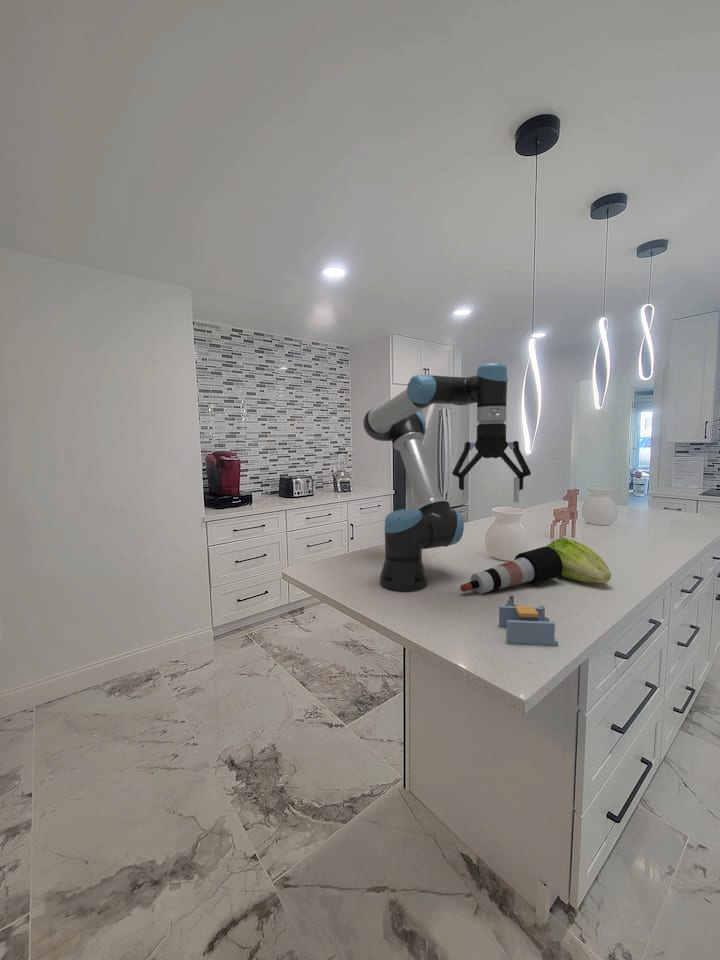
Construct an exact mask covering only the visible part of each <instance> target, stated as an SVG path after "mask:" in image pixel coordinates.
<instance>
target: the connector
mask: <svg viewBox="0 0 720 960" xmlns="http://www.w3.org/2000/svg"><path fill="white" fill-rule="evenodd" d="M534 607H535V606H533V605H532V606H529V605H527V606H526V605H524V606H523V605H518V606H515V620H521V621H538V617H539V614H538V612H537V611H536V610H535V608H534Z"/></svg>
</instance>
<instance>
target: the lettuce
mask: <svg viewBox="0 0 720 960" xmlns="http://www.w3.org/2000/svg"><path fill="white" fill-rule="evenodd" d="M545 547H550V548H552V549H554V550H555V551H556V552H557V553H558V555H559V556H560V558H561V560H562V565H563V569H562V573H561V575H560V576H562V577H563V578H566V579H570V580H574V581H578V582H582V583H608V582H609V581H610V580H611V579H612V573H611V570H610V569H609V567H608V565H607V564H606V562H605V561H604V560H603V558H602V557H600V556H599V555H598V554H597V553H596V552H595V551H593V550H592V549H591V548H589V546H587V545H585V544H582V543H580V542H578V541H577V540H576V541H575V540H572V539H570V538H566V537H565V538H558V539H554V540H553V541H551V542H550V543H548V544H547V545H546V546H545Z"/></svg>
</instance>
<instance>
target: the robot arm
mask: <svg viewBox="0 0 720 960" xmlns="http://www.w3.org/2000/svg"><path fill="white" fill-rule="evenodd" d="M507 368H508V367H507V366H506V365H505V364H504V363H501V362H492V363H491V362H489V363H483V364H480V365H479V366H478V367H477V371H476V375H473V376H468V377H466V376H465V377H464V376H463V377H461V376H449V375H448V376H445V375H444V376H443V375H432V374H431V375H430V374H416V375H413V376H412V377H411V378H410V379H409V381H408V384H407V387H406V389H405V390H402V392H400V393H399V394H397V395H396V396H393V398H391V399H389V400H388V401H387V402H385V403H384V404H382V405H377V406H374V407H372V408H371V409H369V411H367V412H366V413H365V415H364V417H363V421H362V423H363V428H364V431H365V432H366V434H367V435H368V436H369V437H370V438H372V439H373V440H376V441H380V442H389V441H390V442H391V443H392V444H393V448H394V450H397V451H399V453H400V457H401V460H402V462H403V465H404V468H405V471H406V474H407V478H408V480H409V483H410V486H411V489H412V492H413V494H414V498H415V501H416V505H417V508H407V509H406V508H405V509H404V508H403V509H398V510H394V511H391V512H390V513H388V514H387V515H386V517H385V519H384V521H385V522H384V528H383V529H384V555H385V556H384V559H385V560H384V562H383V566H382V569H381V572H380V574H379V584H380V585H381V587H383V588H385V589H387V590H390V591H395V592H414V591H415V592H416V591H420V590H422V589H425V588H426V587H427V586H428V574H427V571H426V568H425V567H424V563H423V555H422V554H423V550H427V549H434V548H441V547H449V546H452V545H456V544H458V543H459V542H460V541H461V540H462V537H463V535H464V531H465V523H464V518H463V516H462V514H461V513H460V511H459V510H456V509H452V508H451V506H450V502H449V501H448V500H446V499H444V498H443V497H442V494H441V491H440V489H439V485H438V483H437V479H436V478H435V475H434V473H433V469H432V467H431V464H430V462H429V459H428V456H427V454H426V451H425V448H424V445H423V442H424V439H425V435H426V431H427V427H426V426H427V423H426V419H425V417H424V415H423V414H422V413H421V412H420V411H421V410H424V409H425V408H427V407H429V406H431V405H433V404H436V405H437V404H438V405H439V404H444V405H447V404H448V405H454V406H467V405H473V404H476V408H477V409H476V422H477V423H478V424H477V426H476V439H475V440H476V441H475V442H470V441H466V442H464V447H463V451H462V453H461V454H460V457H459V458H458V460H457V462H456V464H455V466H454V468H453V470H452V472H451V474H452V475H453V476H454V477H457V478H458V488H459V489H458V490H461V491H462V502H463V503H468V478H467V477H466V476H467V474H468V473H469V472H470V471H471V470H472V469H473V468H474V467H475V465H476V464H477V463H478V462H479V461H480V460H481V459H482V458H484V459H491V458H493V459H498V458H500V459H501V460H502V461H504V463H505V464H506V466H507V467H509V469H510V470H511V471H512V472H513V473H514V475H516V476H517V477H513V502H514V503H517V504H518V503H520V490H521V491H523V489H524V478H525V477H528V476H531V474H532V471H531V470H530V468H529V466H528V464H527V462H526V460H525V458H524V456H523V454H522V452H521V450H520V445H519V444H520V443H519V441H517V440H513V441H507V425H506V423H505V422H506V421H507V405H508V404H507V403H508V402H507V399H508V396H507V395H508V389H507V388H508V380H509V379H508V373H507V372H508V370H507ZM473 448H475V450H477V452H476V454H475V455H474V457H472V459H471V460H470V461H469V462H468V463H467V465H466V466H465V467H464V468H463V469H462V470H461V468H462V467H463V465H464V462H465V461H466V459H467V456H468V455H469V453H470V451H472V450H473ZM507 448H509V449H510V450H511V451H512V452H513V455H514V456H515V458H516V461H517V463H518V464H519V467H520V469H521V470H520V469H519V467H518V466H516V464H515V463H514V462H513V461H512V460H511V458H510V457H509V456H508V454H507V453H506V452H505V451H506V449H507ZM460 470H461V471H460Z"/></svg>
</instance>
